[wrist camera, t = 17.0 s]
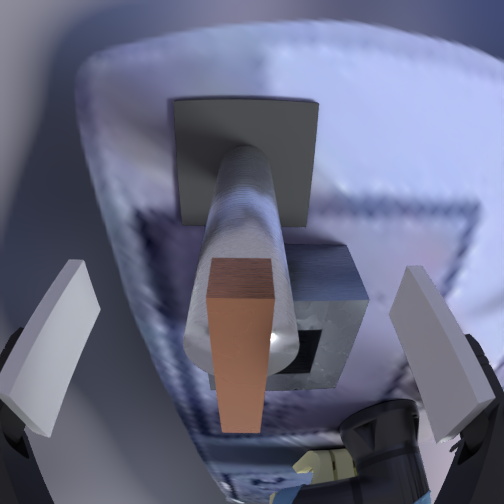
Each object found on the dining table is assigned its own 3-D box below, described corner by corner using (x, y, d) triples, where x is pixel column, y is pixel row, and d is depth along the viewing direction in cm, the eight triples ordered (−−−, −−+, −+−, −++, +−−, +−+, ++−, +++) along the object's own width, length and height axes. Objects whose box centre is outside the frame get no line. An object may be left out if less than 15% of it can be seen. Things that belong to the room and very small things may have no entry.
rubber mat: (305, 224, 26) (305, 227, 26) (183, 222, 26) (182, 225, 25) (317, 102, 20) (318, 103, 20) (175, 100, 20) (173, 101, 20)
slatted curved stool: (399, 437, 58) (413, 503, 43) (368, 460, 67) (378, 517, 52) (272, 446, 55) (276, 526, 40) (258, 466, 64) (259, 531, 49)
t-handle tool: (271, 122, 21) (327, 298, 6) (267, 210, 25) (289, 432, 10) (219, 121, 21) (154, 295, 6) (221, 209, 25) (192, 430, 10)
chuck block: (324, 335, 34) (334, 387, 28) (215, 335, 34) (210, 389, 28) (346, 245, 27) (369, 299, 22) (208, 243, 27) (198, 300, 21)
